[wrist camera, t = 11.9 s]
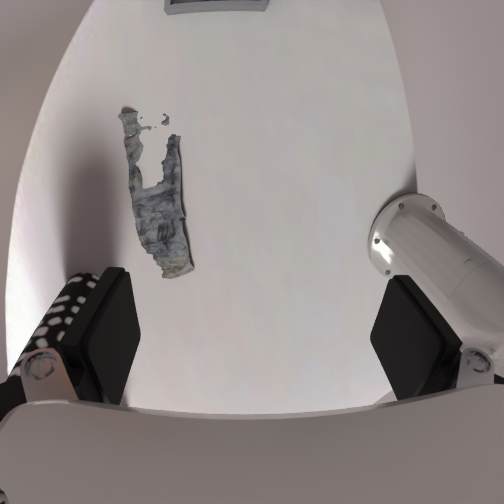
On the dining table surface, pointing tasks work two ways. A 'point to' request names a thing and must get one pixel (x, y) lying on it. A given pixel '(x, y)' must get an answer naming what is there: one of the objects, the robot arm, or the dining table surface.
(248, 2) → the gray rectangular open tray
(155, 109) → the dining table surface
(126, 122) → the driftwood
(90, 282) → the white-spotted black cylinder
